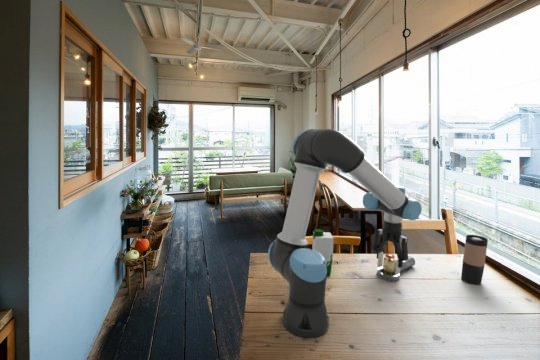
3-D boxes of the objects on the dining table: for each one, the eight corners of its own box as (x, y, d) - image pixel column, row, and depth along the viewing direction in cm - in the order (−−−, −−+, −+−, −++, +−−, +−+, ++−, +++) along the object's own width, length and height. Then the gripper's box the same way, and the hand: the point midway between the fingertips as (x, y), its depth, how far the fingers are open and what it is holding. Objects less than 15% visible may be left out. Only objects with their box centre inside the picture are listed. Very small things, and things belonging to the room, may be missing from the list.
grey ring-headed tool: (391, 283, 118) (392, 273, 117) (372, 274, 125) (373, 264, 125) (419, 269, 132) (420, 260, 131) (401, 262, 139) (402, 253, 138)
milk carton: (310, 267, 131) (312, 227, 128) (329, 268, 131) (331, 227, 128) (312, 276, 122) (314, 233, 119) (333, 277, 122) (335, 234, 119)
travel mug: (474, 277, 125) (480, 235, 122) (486, 286, 117) (492, 241, 114) (456, 276, 126) (462, 234, 123) (466, 285, 118) (472, 240, 115)
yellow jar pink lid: (390, 279, 121) (391, 258, 120) (380, 275, 125) (382, 254, 124) (396, 276, 124) (398, 256, 122) (386, 272, 128) (388, 252, 126)
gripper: (421, 225, 114) (415, 277, 118) (376, 214, 131) (373, 259, 134) (412, 228, 110) (406, 281, 113) (367, 216, 127) (363, 263, 130)
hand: (388, 269), depth 124 cm, fingers open, 8 cm apart
